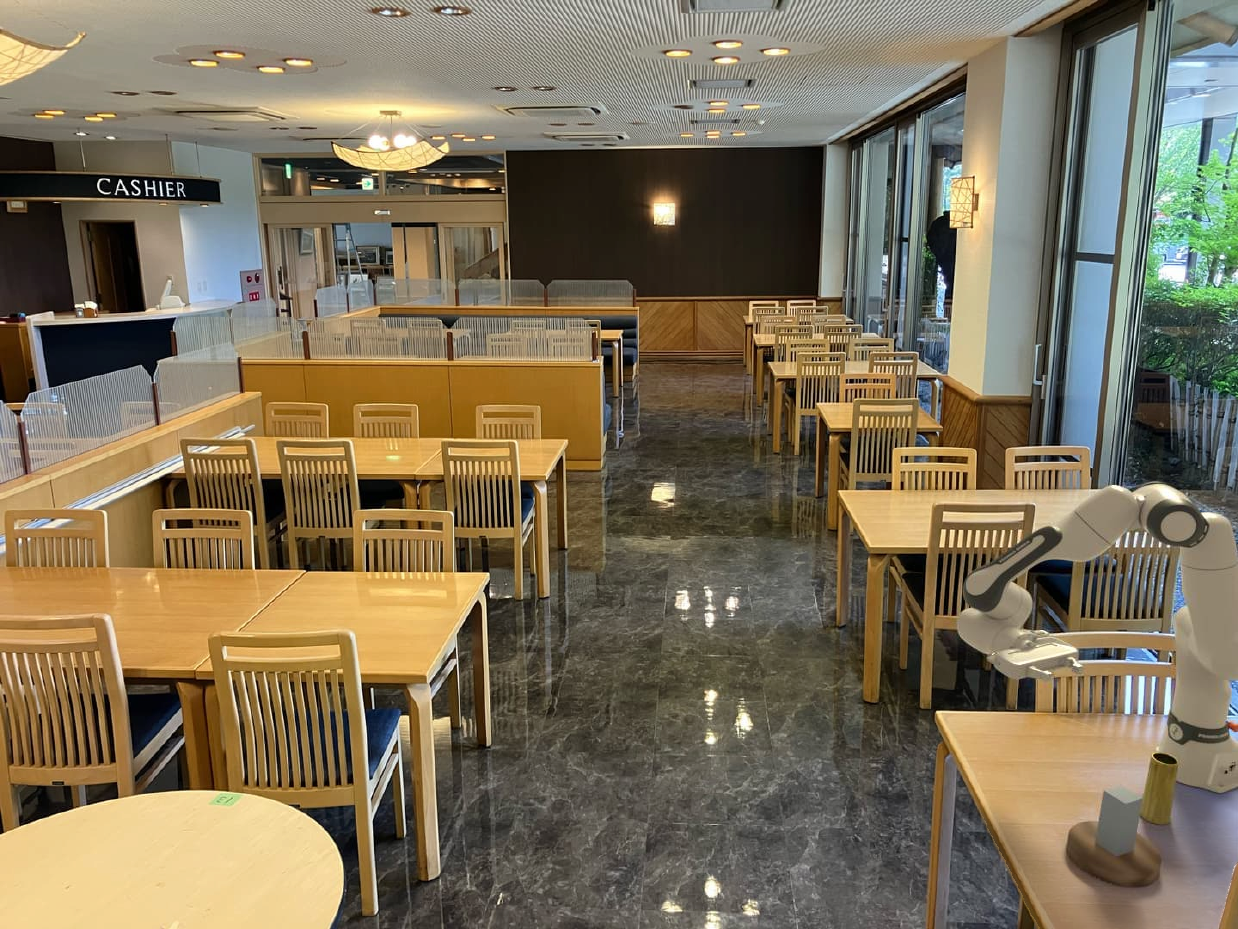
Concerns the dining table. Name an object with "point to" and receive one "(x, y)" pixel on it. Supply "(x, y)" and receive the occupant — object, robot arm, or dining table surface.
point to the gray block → (1118, 820)
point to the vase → (1159, 788)
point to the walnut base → (1113, 858)
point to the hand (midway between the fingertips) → (1065, 674)
